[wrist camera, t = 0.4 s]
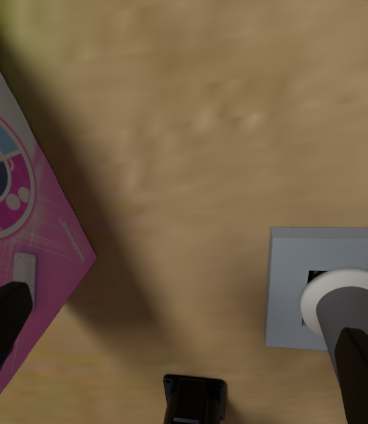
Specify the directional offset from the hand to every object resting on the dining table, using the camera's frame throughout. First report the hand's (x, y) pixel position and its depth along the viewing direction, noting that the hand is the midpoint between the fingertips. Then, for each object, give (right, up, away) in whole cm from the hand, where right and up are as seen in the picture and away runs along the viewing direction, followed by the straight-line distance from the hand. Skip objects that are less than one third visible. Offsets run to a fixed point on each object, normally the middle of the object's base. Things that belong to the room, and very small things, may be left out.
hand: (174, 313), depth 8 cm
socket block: (+13, -3, +15) cm, 20 cm away
